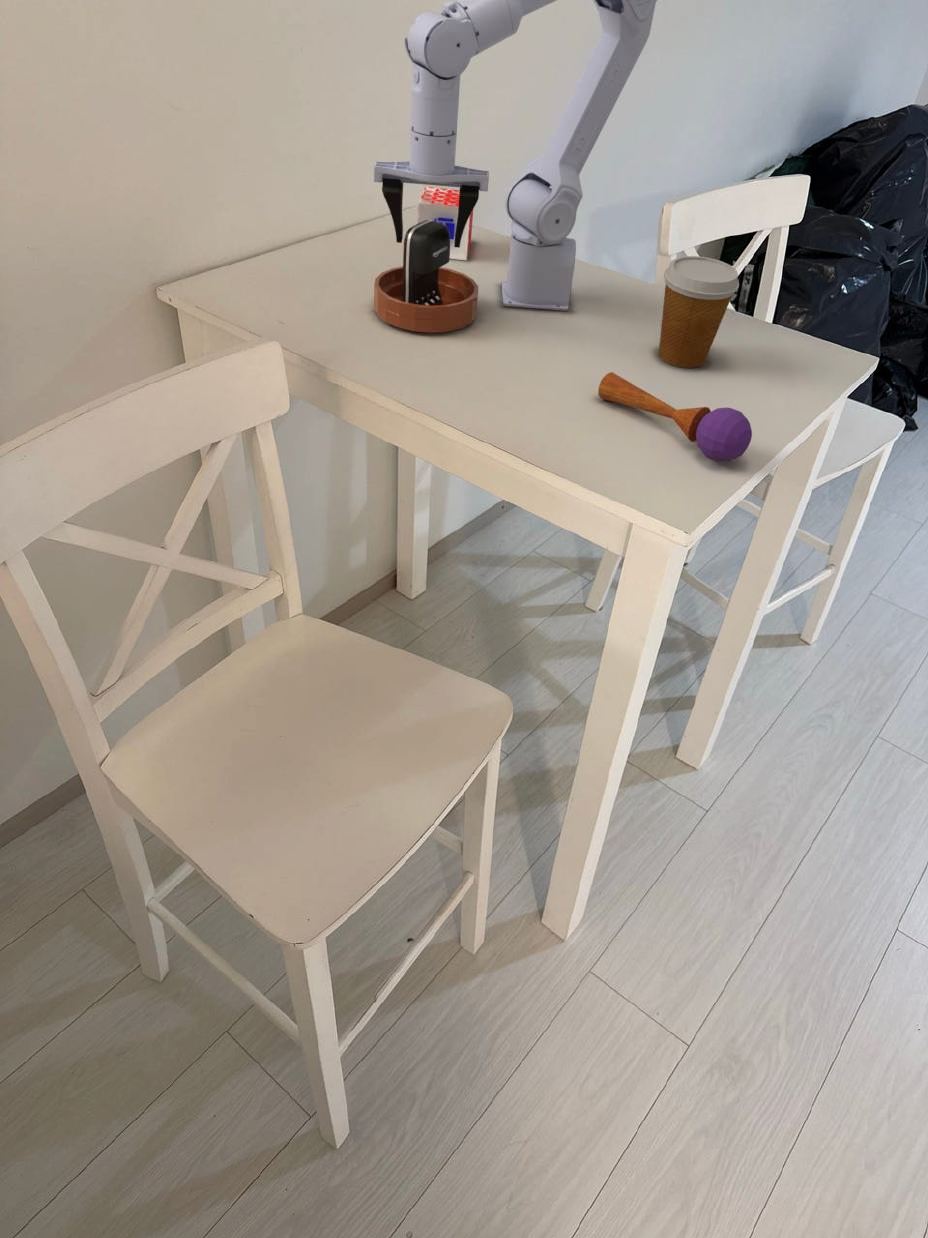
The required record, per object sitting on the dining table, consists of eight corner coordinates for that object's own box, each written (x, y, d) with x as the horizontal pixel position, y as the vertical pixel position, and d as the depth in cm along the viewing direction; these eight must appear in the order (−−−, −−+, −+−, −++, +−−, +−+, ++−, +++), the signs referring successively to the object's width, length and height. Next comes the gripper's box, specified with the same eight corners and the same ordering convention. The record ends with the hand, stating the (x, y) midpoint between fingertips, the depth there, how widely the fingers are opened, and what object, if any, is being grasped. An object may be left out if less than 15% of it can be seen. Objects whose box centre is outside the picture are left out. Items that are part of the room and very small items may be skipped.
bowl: (475, 296, 133) (478, 269, 130) (475, 339, 122) (478, 310, 119) (378, 289, 132) (378, 261, 129) (370, 331, 121) (370, 302, 119)
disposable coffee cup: (673, 335, 127) (694, 249, 119) (730, 361, 123) (756, 272, 115) (632, 353, 122) (651, 264, 114) (690, 381, 118) (714, 290, 109)
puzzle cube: (470, 242, 148) (474, 191, 143) (466, 260, 143) (470, 207, 137) (422, 237, 149) (424, 186, 143) (416, 254, 143) (418, 202, 137)
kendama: (627, 359, 112) (768, 415, 101) (616, 406, 115) (751, 465, 104) (597, 363, 108) (740, 422, 97) (586, 411, 111) (723, 473, 100)
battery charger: (423, 321, 124) (427, 236, 116) (400, 314, 125) (402, 228, 117) (450, 305, 128) (455, 222, 121) (427, 298, 130) (431, 215, 122)
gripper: (492, 126, 115) (482, 235, 124) (377, 116, 114) (376, 227, 123) (492, 141, 110) (482, 255, 119) (372, 131, 109) (371, 245, 118)
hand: (428, 242), depth 121 cm, fingers open, 7 cm apart
